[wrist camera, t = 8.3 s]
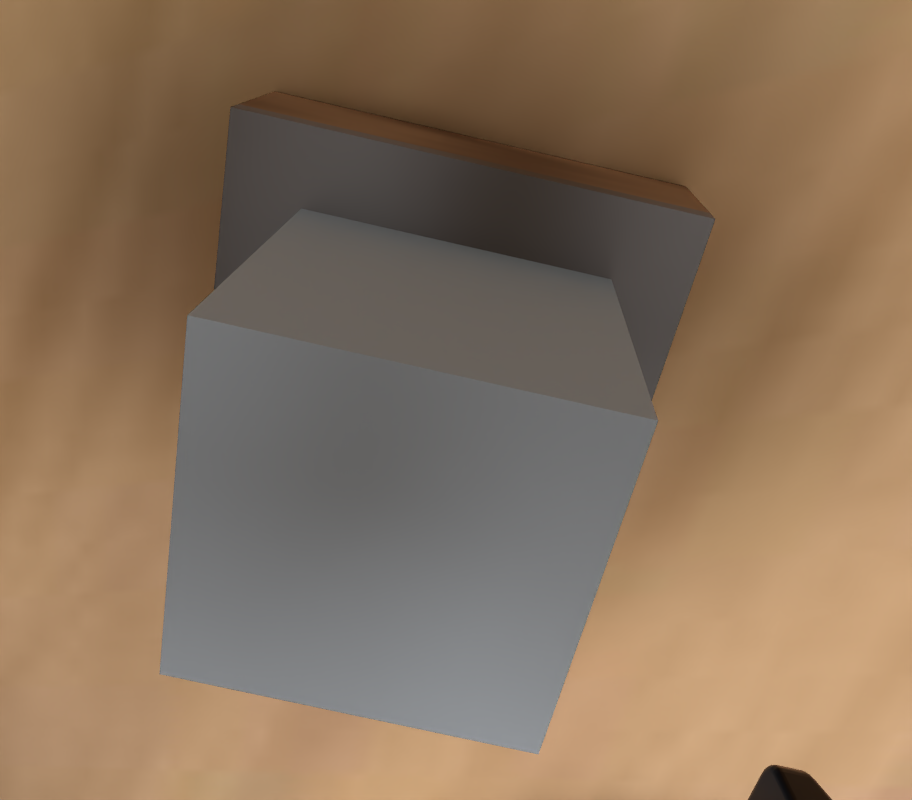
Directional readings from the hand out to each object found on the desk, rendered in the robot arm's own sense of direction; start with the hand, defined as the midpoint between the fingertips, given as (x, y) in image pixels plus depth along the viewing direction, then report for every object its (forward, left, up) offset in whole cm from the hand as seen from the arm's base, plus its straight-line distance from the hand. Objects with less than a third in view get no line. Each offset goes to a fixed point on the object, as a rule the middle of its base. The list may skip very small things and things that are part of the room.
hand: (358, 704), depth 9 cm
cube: (0, 0, -9) cm, 9 cm away
